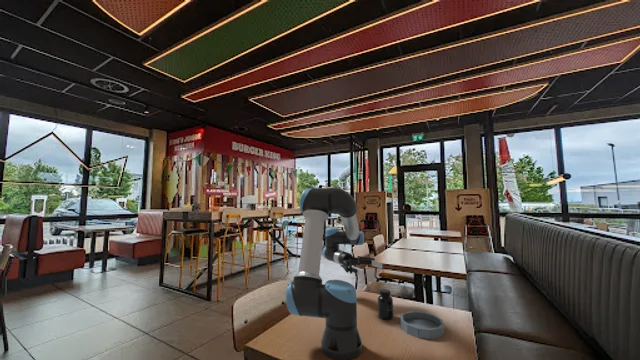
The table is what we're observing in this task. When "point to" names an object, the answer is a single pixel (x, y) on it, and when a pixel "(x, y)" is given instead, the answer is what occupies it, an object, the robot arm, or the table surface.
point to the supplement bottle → (385, 305)
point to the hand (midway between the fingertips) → (372, 269)
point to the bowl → (422, 325)
